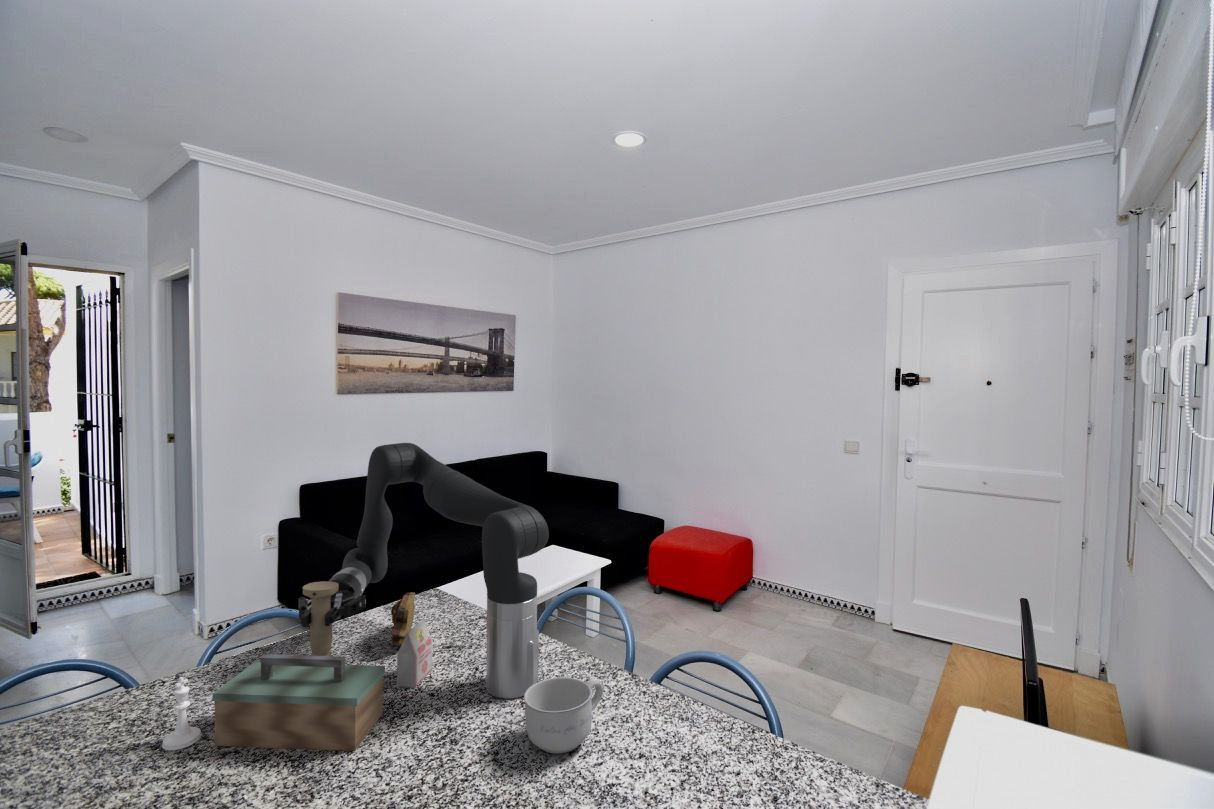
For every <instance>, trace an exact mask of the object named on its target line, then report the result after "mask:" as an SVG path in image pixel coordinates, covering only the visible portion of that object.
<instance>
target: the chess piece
mask: <svg viewBox="0 0 1214 809" xmlns="http://www.w3.org/2000/svg"><path fill="white" fill-rule="evenodd" d="M187 683H189V679H188V678H185V677H184V676H180V677H179V678H178V682H176V683H175V684H174V687H175V688H176V689H175V690H174V691H173V696H174V697H175V699H176V703H175V704H173V708H172V709H173V710H176V711H177V714H176V715H177V716H176V722H175V723H176V724H175V729H174V730H173V731H172V732H170V733H168V734H167V735H166V736H165V737H164V738H163V740H162V745H161V748H162V749H163V750H165V751H177V750H182V749H184V748H187V747H189V746H192V745H193V744H195V743H197V742H198V741H199V740H200V739H201V738H202V729H201V728H199V727H196V726H190V725H189V722H188V717H187V709H186V708H188V707H189V706H190V705H191V702H190V701H189V700H187V698H188V694H189V692H190V690H191V688H190V687H189V686H185V684H187Z"/></svg>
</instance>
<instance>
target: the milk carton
mask: <svg viewBox="0 0 1214 809" xmlns="http://www.w3.org/2000/svg"><path fill="white" fill-rule="evenodd" d="M433 644H434V643H433V638H432V636H431V633H430V632H429V628H428V626H427V623H426V619H422V620H420V621H419V622H418V623H417V624H416V625H414V626H412V627H411V630H410V631H409V632H407V633H406V635H405V639H404V641H403V644H402V645H400V648H399V650H398V652H397V654H396V687H404V688H406V687H407V688H414V687H415V688H417V687H418V686H419V685H420V684H421V682H422V681H424V679H425V678H427V677H428V675H429V674H430V673H431V672H433V646H434V645H433ZM418 684H419V685H418ZM417 685H418V686H417ZM416 686H417V687H416ZM415 688H414V689H415Z"/></svg>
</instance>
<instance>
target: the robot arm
mask: <svg viewBox="0 0 1214 809" xmlns="http://www.w3.org/2000/svg"><path fill="white" fill-rule="evenodd" d="M410 482H411V483H413V482H414V483H417V484H419V485H422V493H423V498H424V501H425V503H426V504H427V505H428V506H429V507H430V508H432V510H434V511H436V512H437V513H438V514H440V515H442V516H443V517H445V518H446V519H449V520H452V521H454V522H457V523H463V524H466V525H470V526H471V525H472V526H478V527H482V531H481V546H482V547H481V548H482V549H481V550H482V551H481V552H482V569H483V574H482V575H483V580H484V584H485V587H486V661H485V662H486V664H485V665H486V673H485V674H486V675H485V679H486V682H485V686H486V691H487V692H488V693H489V694H490V695H491V696H493V697H496V698H500V699H516V698H521V697H524V694H525V692H526V691H527V689H528V688H529V687H531V686H532V685H534V684H535V683H537V682H538V680H539V648H540V647H539V642H540V641H539V640H540V638H539V634H540V631H539V629H538V628H537V627H538V625H537V624H538V621H537V620H538V581H537V579H536V578H535V576H533V575H532V574H528V573H527V572H526V573H525V572H521V571H519V559H523V558H525V557H529V556H532V555H534V554H536V553H538V552H541V550H543V548H545V547H546V545H547V543H548V541H549V536H550V532H549V527H548V523H547V521H546V519H545V518H544V517H543V515H542V514H541V513H540V512H539V511H538V510H537V509H535V508H534V507H532V506H530V505H527V504H525V503H523V502H522V503H521V502H518V501H516V500H513V499H511V498H508V497H507V496H503V495H501V494H500V493H498V492H495V491H494V490H492V489H490V488H488V487H486V486H484V485H482V484H481V483H479V482H478V481H477V482H476V481H475V480H474V479H472V478H470V477H468V476H467V475H465V474H463V473H461V472H459V471H457V470H456V469H455V470H454V469H453V468H451V467H450V466H447V465H445V463H443V462H441V461H438V460H437V459H435V458H434V457H433V456H432V455H430V454H429V453H428V452H426V450H424V449H422V448H421V447H420V446H418V445H417V444H414V443H411V442H399V443H389V444H381V445H378V446H376V447H375V448H374V449H373V450H372V451H371V454H370V456H369V460H368V465H367V478H366V485H365V486H366V487H365V497H364V499H365V501H364V511H363V517H362V521H361V525H360V527H359V531H358V536H357V539H356V546H357V547H356V548H353V549H350V550H349V551H348V552H347V553H346V555H345V557H344V558H343V562H342V565H341V569H340V570H339V571H338V572H336V573H335V574H334V575H333V576H332V577H331V578H330V579H329V580H328V581H327V582H336V583H338V584H339V589H338V591H337V592H336V593H335V594H333V595H332V596H331V598H330V605H331V609H330V611H329V612H328V613H327V614H326V615H325V626H330V625H331V624H332V625H333V624H335V622H336V621H337V620H339V619H340V618H341V617H343V618H350V617H352V616H354V615H355V614H357V613H359V612H361V610H364V609H365V608H366V606H367V605H366V604H367V599H366V598H367V595H366V594H363V593H364V591H365V589H366V588H367V587H368V585H369V584H375V583H378V582H380V581H381V580H383V578H384V577H385V575H386V574H387V571H388V567H389V566H388V565H389V562H388V561H389V560H388V541H389V538H390V535H391V533H392V528H393V524H394V523H393V522H394V520H393V514H392V511H391V509H390V508H389V506H388V504H387V501H386V499H385V493H386V491H387V490H386V489H387V487H388V486H389V485H396V484H402V483H410ZM298 619H299V620H300V625H301V627H302V628H308V627H309V625H310V623H311V599H308V598H306V596H301V597H299V598H298Z"/></svg>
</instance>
